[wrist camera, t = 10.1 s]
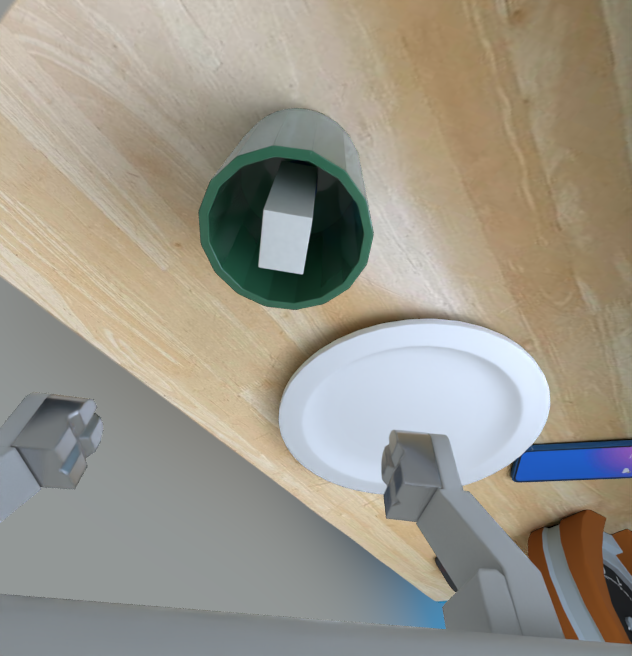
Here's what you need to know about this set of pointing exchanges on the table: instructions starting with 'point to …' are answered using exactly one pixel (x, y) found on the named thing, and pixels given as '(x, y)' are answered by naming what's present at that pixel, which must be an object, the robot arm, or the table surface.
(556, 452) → the smartphone
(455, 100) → the table surface
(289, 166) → the toothpaste
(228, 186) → the green cup
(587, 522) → the alarm clock
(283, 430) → the plate
